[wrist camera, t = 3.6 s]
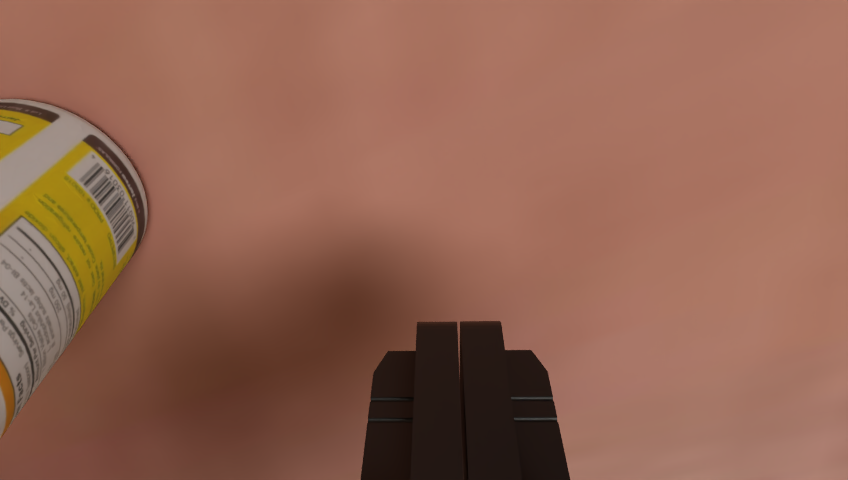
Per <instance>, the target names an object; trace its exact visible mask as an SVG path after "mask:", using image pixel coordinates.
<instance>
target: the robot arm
mask: <svg viewBox="0 0 848 480" xmlns="http://www.w3.org/2000/svg"><path fill="white" fill-rule="evenodd" d="M361 480H570V476H569V472H568V467H567V462H566V457H565V453H564V448H563V443H562V438H561V434H560V429H559V424H558V422H557V414H556V410H555V405H554V401H553V395H552V391H551V386H550V381H549V376H548V372H547V370H546V369H545V368H544V366H543V365H542V364H541V362H540V361H539V360H538V358H537V357H536V356H535V355H534V353H533V352H532V351H531V350H505V348H504V340H503V333H502V326H501V322H500V321H463V322H460V381H459V357H458V333H457V322H417V334H416V351H388V352H387V353H386V355H385V356H384V358H383V359H382V361H381V362H380V364H379V365H378V367H377V368H376V370H375V371H374V374H373V382H372V390H371V402H370V407H369V415H368V423H367V431H366V440H365V448H364V456H363V465H362V473H361Z"/></svg>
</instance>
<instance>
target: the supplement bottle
mask: <svg viewBox="0 0 848 480" xmlns="http://www.w3.org/2000/svg"><path fill="white" fill-rule="evenodd" d="M147 216H148V209H147V200H146V195H145V191H144V188H143V185H142V183H141V180H140V178H139V176H138V174H137V172H136V170H135V169H134V167H133V165H132V164H131V162H130V161H129V159H128V158H127V157H126V155H125V154H124V153H123V152H122V150H121V149H120V148H119V147H118V146H117V145H116V144H115V143H114V142H113V141H112V140H111V139H110V138H109V137H108V136H107V135H105V134H104V133H103V132H102V131H100V130H99V129H98V128H96V127H95V126H93V125H92V124H90V123H89V122H87V121H86V120H84V119H82V118H81V117H79V116H77V115H75V114H73V113H71V112H68V111H66V110H64V109H61V108H59V107H56V106H53V105H49V104H46V103H41V102H36V101H31V100H23V99H0V439H1V437H2V436H3V434H4V433H5V431H6V430H7V429H8V427H9V426H10V425H11V423H12V422H13V420H14V419H15V417H16V416H17V415H18V413H19V412H20V411H21V409H22V408H23V406H24V405H25V404H26V402H27V401H28V399H29V398H30V397H31V395H32V394H33V393H34V391H35V390H36V389H37V387H38V386H39V384H40V383H41V382H42V380H43V379H44V378H45V376H46V375H47V373H48V372H49V371H50V369H51V368H52V367H53V365H54V364H55V362H56V361H57V360H58V358H59V357H60V356H61V354H62V353H63V352H64V350H65V349H66V347H67V346H68V345H69V344H70V342H71V341H72V339H73V338H74V336H75V335H76V334H77V332H78V331H79V330H80V328H81V327H82V325H83V324H84V322H85V321H86V319H87V318H88V317H89V315H90V314H91V313H92V311H93V310H94V309H95V307H96V306H97V304H98V303H99V302H100V300H101V299H102V297H103V296H104V295H105V293H106V292H107V291H108V289H109V288H110V286H111V285H112V284H113V282H114V281H115V279H116V278H117V277H118V275H119V274H120V273H121V271H122V270H123V268H124V267H125V266H126V264H127V263H128V262H129V261H130V259H131V258H132V256H133V255H134V253H135V252H136V250H137V249H138V247H139V245H140V243H141V241H142V239H143V236H144V233H145V230H146V225H147Z"/></svg>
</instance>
